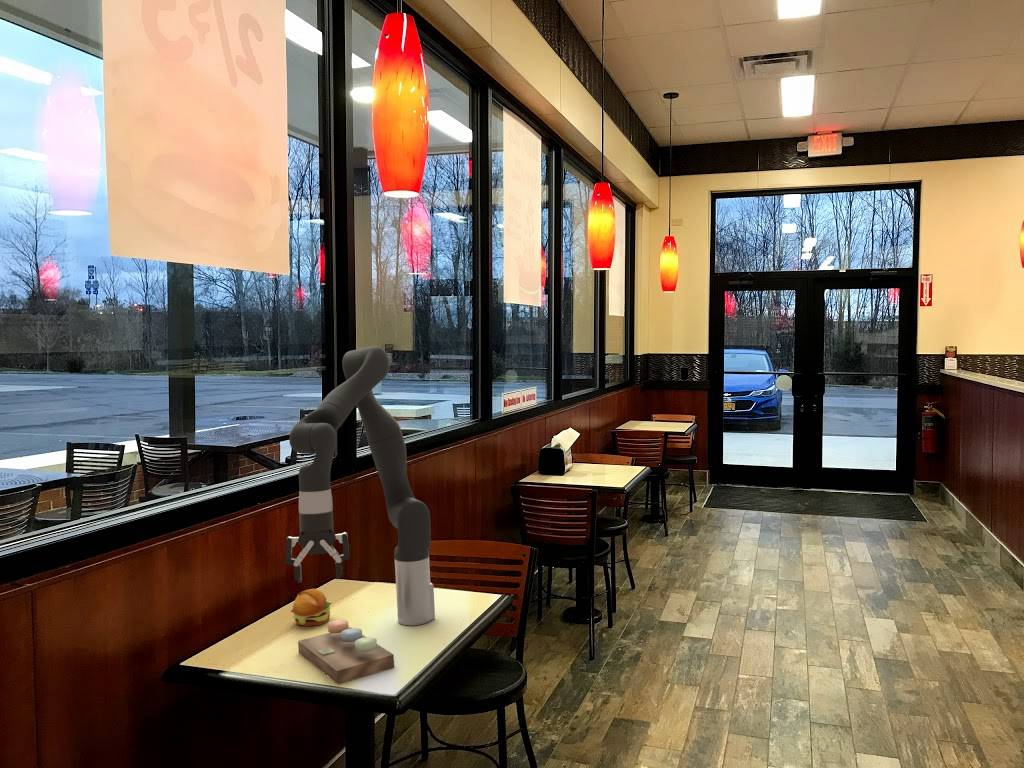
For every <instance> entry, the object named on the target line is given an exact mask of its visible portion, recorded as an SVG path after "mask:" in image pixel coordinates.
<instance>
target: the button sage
mask: <svg viewBox="0 0 1024 768" xmlns="http://www.w3.org/2000/svg"><path fill="white" fill-rule="evenodd" d="M377 640H378V639H377V638H375V637H373V636H372V637H371V636H370V637H369V636H365V638H360V639H358V640H356V641H355V650H356V651H358V652H369V651H372V650H375V649H376V648H377V644H378V643H377V642H378V641H377Z"/></svg>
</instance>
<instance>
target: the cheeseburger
mask: <svg viewBox="0 0 1024 768" xmlns="http://www.w3.org/2000/svg"><path fill="white" fill-rule="evenodd" d="M331 605H332V602H329V601H327V597H326V595H325V594H324V592H322V591H321V590H320V589H318V588H311V589H310V588H309V589H306V590H304V591H300V592H299V593H298V594H297V596H296V597H295V599H294V602H293V605H292V609H291V610H290V612H291V613H293V615H292V617H293V619H294V620H295V621H294V622H295V623H296V624H297V625H300V626H302V627H303V626H304V627H314V626H320V625H324V624H325V623H327V622H328V621H329V620H330V616H331V607H330V606H331Z"/></svg>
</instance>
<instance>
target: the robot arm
mask: <svg viewBox="0 0 1024 768" xmlns="http://www.w3.org/2000/svg"><path fill="white" fill-rule="evenodd" d="M390 363H391V361H390V357H389V356H388V353H387V351H386V350H385V349H384V348H382V347H381V346H377V345H376V346H375V345H373V346H367V347H362V348H357V349H353V350H349V351H347V352H346V353H344V355H343V357H342V370H343V374H344V378H345V380H346V381H344V382H342V383H341V384H339V385H338V386H337V387H336V388H334V389H333V390H331V391H330V392H329V393H328V394H327V395H326V396H325V397H324V399H323V400H322V401H321V402H320V404H319V405H318V406H317V408H316V409H315V410H313V411H312V412H309V413H308V414H307V415H306V416H304V417H303V418H301V419H300V420H298V422H296V424H295V425H294V426H293V427H292V429H291V431H290V434H289V440H288V441H289V446H290V448H291V449H292V450H293V451H294V452H295V453H297V454H302V455H305V454H308V455H311V454H312V455H313V454H314V459H313V461H312V462H311V463H308V464H304V465H302V466H301V467H300V468H299V470H298V484H299V485H298V487H299V491H298V492H299V496H298V513H299V515H298V517H299V536H294V537H293V536H290V535H289V536H287V537H286V539H285V560H284V561H285V562H284V563H285V565H286V564H287V565H291V566H293V567H294V569H293V570H294V571H293V572H294V580H295V581H297V583H299V584H300V583H302V580H303V579H302V564H301V563H302V561H303V560H304V559H305V557H306V555H310V556H313V555H317V554H318V555H325V554H326V553H328V555H329V556H330V557H332V558H333V560H334V561H335V578H336V580H340V577H342V576H343V562H345V561H346V560H349V559H350V548H349V547H350V546H349V545H350V544H349V538H348V537H349V536H348V532H346V531H344V532H342V533H337V534H336V533H335V531H334V512H333V508H334V505H333V495H332V489H331V488H332V487H331V468H332V465H333V459H334V455H335V450H336V447H337V440H338V438H337V433H336V431H337V430H339V428H341V426H342V425H343V423H344V422H345V421H346V419H347V418H348V416H349V415H350V414H351V413H352V411H353V409H354V408H356V407H357V410H358V413H359V416H360V418H361V422H362V425H363V428H364V432H365V436H366V439H367V444H368V446H369V450H370V453H371V456H372V458H373V461H374V466H375V469H376V471H377V474H378V477H379V479H380V481H381V485H382V489H383V493H384V494H383V495H384V499H385V503H386V504H385V505H386V511H387V515H388V519H389V522H390V523H391V524H392V526H393V527H394V528H395V529H397V537H398V538H397V539H398V540H397V541H398V542H397V546H396V547H395V548H394V569H395V570H394V571H395V590H396V608H397V611H396V612H397V622H398V624H400V625H404V626H419V625H424V624H427V623H430V622H431V621H432V620H435V619H436V613H435V612H436V610H435V591H434V589H435V588H434V584H433V583H432V582H431V571H430V570H431V569H430V555H429V554H430V547H431V543H432V526H431V523H432V522H431V514H430V510H429V508H428V505H426V503H424V502H423V501H421V500H419V499H416V497H415V495H414V493H413V490H412V488H411V485H410V482H409V478H408V473H407V472H408V471H407V466H408V462H407V461H408V459H407V458H408V456H407V455H408V454H407V446H406V443H405V439H404V436H403V435H404V434H403V433H402V429H401V426H400V424H399V422H398V421H397V420H396V418H394V417H393V415H391V413H390V412H389V411H387V409H386V408H385V407H384V406H383V405H382V404H381V403H380V402H379V400H378V399H377V398H376V396H375V394H374V392H373V389H374V388H375V387H376V386H377V385H378V384H380V382H382V381H383V380H384V379H385V378H386V377H387V376H388V373H389V372H390ZM336 540H338V542H339V544H342V550H343V551H342V552H343V553H342V554H340V553H339V552H338V551H337V550H336V548H335V547H334V546H333V544H335V542H336ZM297 543H298V544H299V545H300V546H301V548H302V550H301V551H300V553H299V554H298V555H297V557H296V558H293V548H294V547H295V546H296V544H297Z"/></svg>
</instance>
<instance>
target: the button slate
mask: <svg viewBox="0 0 1024 768" xmlns="http://www.w3.org/2000/svg"><path fill="white" fill-rule="evenodd" d="M362 635H363V630H362V629H361V628H357V627H351V628H350V629H346V630H343V631H342V632H341V641H343V642H355V641H356V640H358V639H360V638H362Z"/></svg>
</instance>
